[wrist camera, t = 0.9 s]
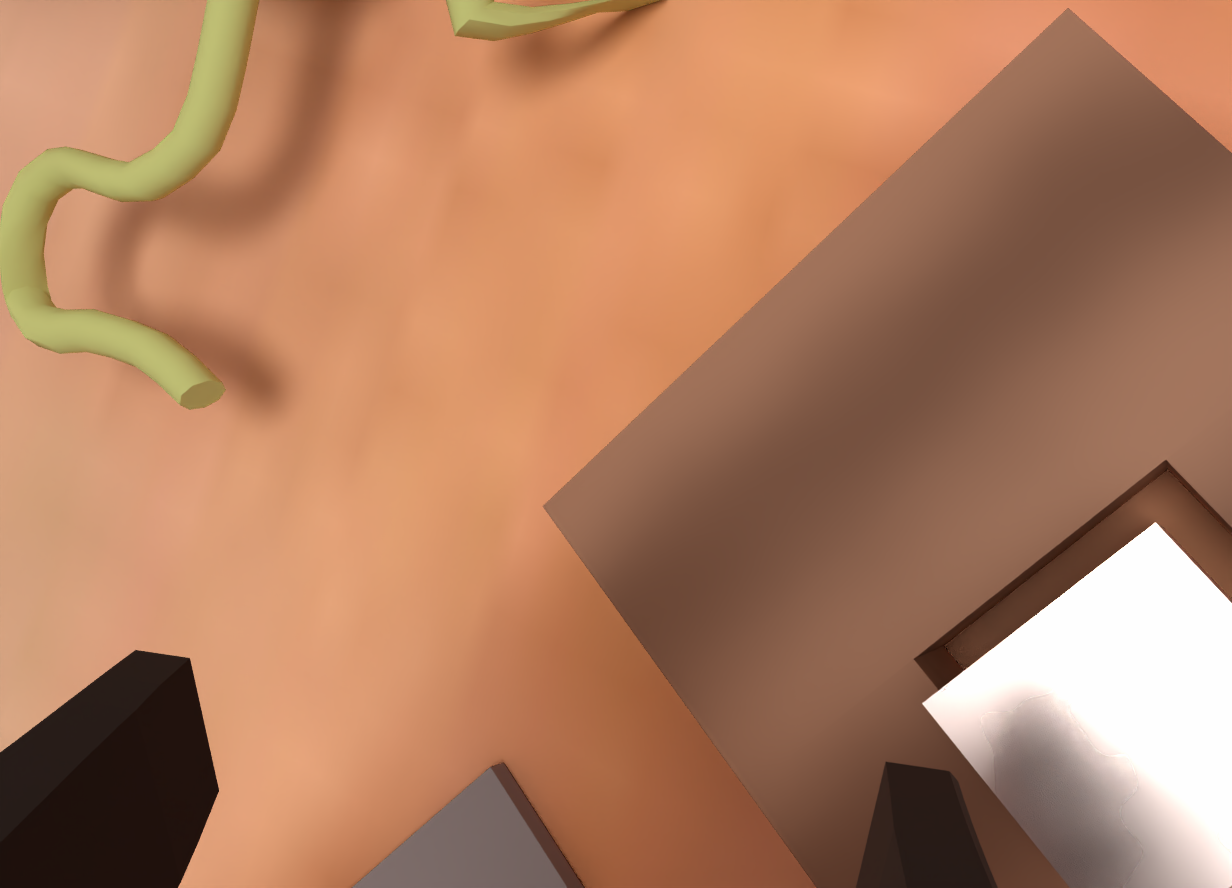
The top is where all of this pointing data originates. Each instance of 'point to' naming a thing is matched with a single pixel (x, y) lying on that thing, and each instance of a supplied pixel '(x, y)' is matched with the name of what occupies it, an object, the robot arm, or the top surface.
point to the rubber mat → (478, 844)
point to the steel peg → (1112, 723)
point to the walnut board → (924, 437)
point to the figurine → (171, 166)
